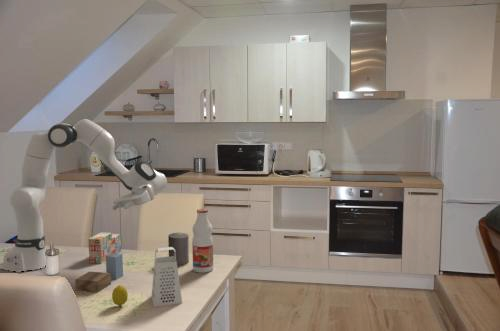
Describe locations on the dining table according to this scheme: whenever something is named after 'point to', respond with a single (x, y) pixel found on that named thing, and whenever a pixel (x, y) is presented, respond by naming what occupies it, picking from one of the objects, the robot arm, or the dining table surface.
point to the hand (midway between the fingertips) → (118, 208)
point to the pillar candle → (179, 247)
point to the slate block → (114, 265)
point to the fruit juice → (202, 243)
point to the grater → (165, 280)
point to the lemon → (119, 295)
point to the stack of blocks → (103, 246)
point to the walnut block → (93, 281)
